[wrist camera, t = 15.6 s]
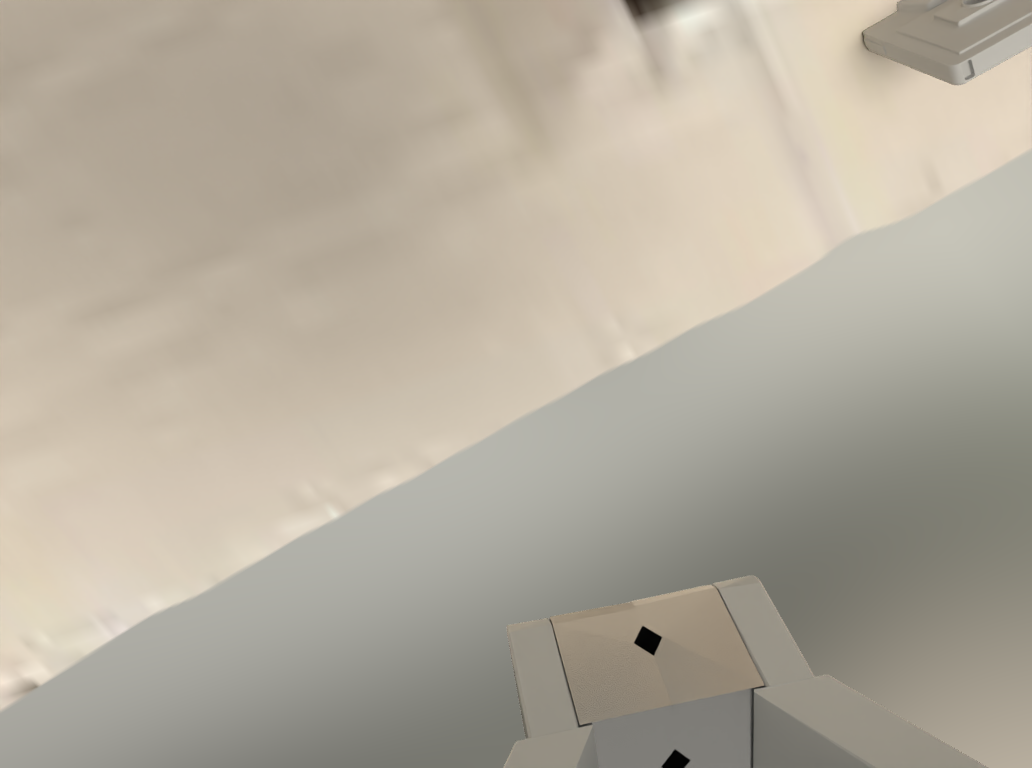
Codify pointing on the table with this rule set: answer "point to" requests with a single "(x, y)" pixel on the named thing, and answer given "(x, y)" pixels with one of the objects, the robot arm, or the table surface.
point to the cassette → (953, 36)
